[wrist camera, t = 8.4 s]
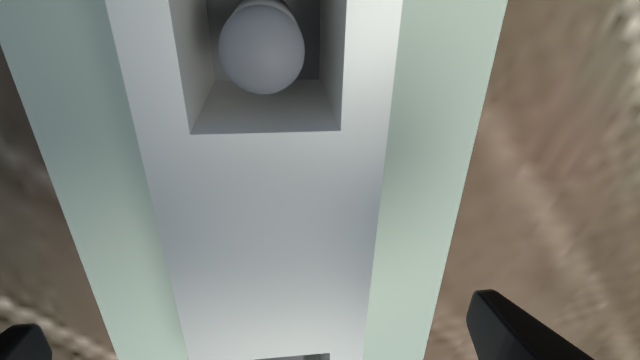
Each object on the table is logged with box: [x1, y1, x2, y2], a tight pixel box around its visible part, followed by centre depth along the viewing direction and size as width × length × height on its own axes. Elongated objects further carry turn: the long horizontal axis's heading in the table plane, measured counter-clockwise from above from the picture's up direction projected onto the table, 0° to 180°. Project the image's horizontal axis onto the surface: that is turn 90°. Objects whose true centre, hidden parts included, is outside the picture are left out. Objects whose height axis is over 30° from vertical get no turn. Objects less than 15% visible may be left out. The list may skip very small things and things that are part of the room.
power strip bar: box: [105, 0, 403, 360], centre depth 11 cm, size 5×16×4 cm, turn 179°
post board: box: [0, 0, 508, 360], centre depth 11 cm, size 14×22×6 cm, turn 179°
